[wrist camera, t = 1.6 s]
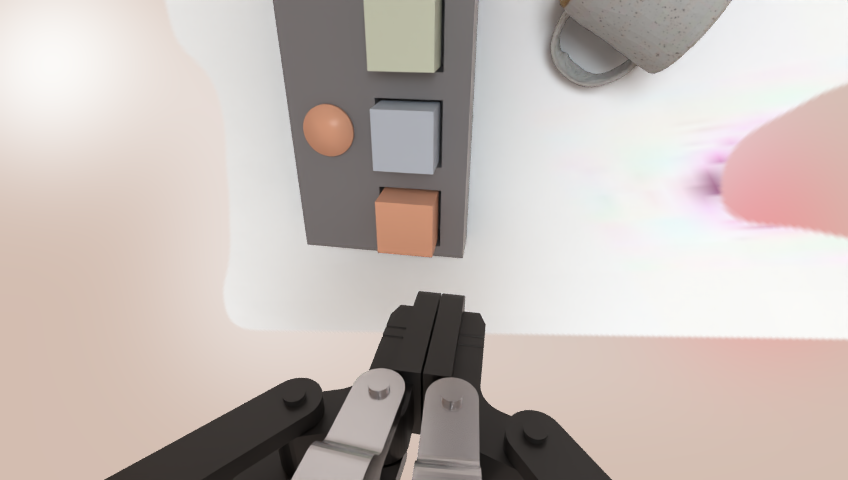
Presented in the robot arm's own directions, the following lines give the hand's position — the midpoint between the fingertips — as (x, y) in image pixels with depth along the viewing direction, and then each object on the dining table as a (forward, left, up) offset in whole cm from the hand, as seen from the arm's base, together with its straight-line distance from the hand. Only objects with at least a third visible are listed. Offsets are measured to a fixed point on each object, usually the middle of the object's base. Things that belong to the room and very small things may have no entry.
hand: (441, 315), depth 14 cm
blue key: (0, -5, -22) cm, 23 cm away
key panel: (0, -8, -25) cm, 26 cm away
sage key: (-7, -5, -22) cm, 24 cm away
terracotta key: (+7, -6, -22) cm, 24 cm away
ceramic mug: (-9, +9, -25) cm, 28 cm away
